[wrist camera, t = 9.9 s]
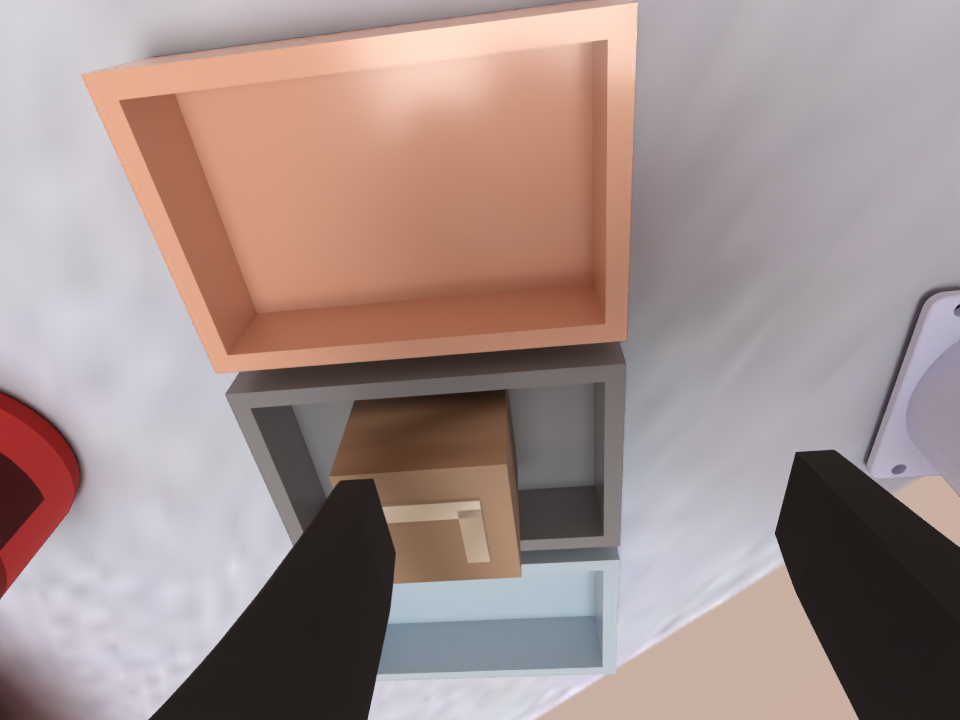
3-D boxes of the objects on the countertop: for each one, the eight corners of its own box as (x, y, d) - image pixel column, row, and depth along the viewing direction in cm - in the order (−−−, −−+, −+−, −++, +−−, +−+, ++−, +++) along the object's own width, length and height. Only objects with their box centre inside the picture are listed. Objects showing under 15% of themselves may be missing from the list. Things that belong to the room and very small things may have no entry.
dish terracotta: (613, -4, 14) (637, 2, 12) (609, 291, 19) (626, 340, 16) (148, 57, 15) (80, 74, 13) (251, 322, 20) (215, 373, 17)
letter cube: (504, 361, 20) (506, 466, 16) (517, 466, 23) (521, 580, 18) (363, 373, 20) (328, 479, 16) (392, 474, 23) (368, 587, 19)
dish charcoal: (609, 312, 19) (625, 363, 17) (607, 485, 24) (619, 546, 21) (258, 342, 20) (224, 394, 18) (320, 502, 25) (300, 562, 22)
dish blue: (607, 499, 24) (619, 559, 22) (605, 613, 29) (615, 673, 26) (325, 515, 25) (306, 574, 23) (366, 622, 30) (354, 681, 27)
